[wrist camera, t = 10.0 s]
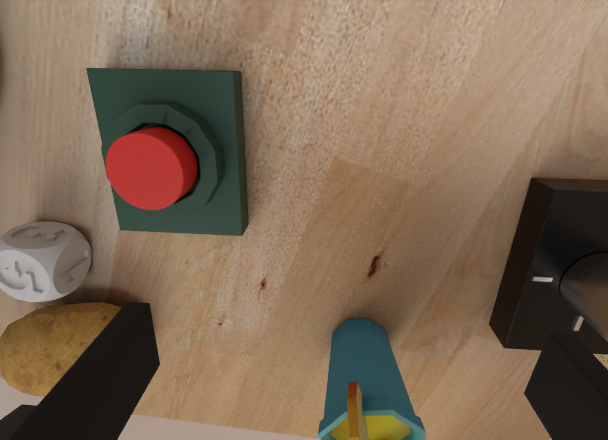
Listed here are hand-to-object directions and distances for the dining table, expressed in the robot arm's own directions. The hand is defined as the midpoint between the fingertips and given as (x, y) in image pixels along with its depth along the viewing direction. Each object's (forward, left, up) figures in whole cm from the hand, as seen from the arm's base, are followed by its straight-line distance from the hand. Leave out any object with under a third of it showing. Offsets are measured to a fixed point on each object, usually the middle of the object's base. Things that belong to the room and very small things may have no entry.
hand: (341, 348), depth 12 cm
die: (-6, +24, -18) cm, 30 cm away
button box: (+3, +12, -17) cm, 21 cm away
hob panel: (-5, -20, -17) cm, 27 cm away
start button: (+3, +12, -14) cm, 18 cm away
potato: (-15, +23, -18) cm, 33 cm away
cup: (-16, -4, -18) cm, 24 cm away
